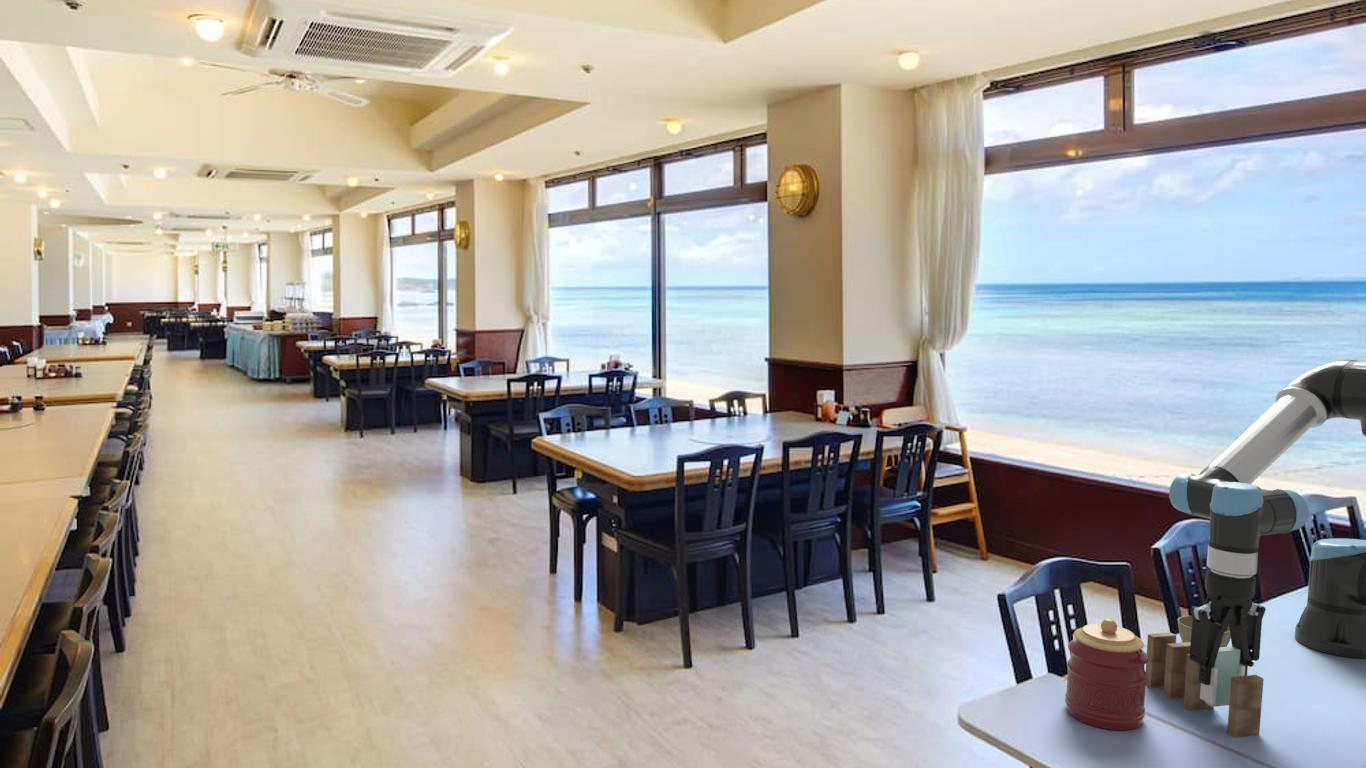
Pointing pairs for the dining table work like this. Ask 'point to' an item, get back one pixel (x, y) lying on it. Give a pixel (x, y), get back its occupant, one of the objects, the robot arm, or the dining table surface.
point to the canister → (1106, 677)
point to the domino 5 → (1245, 705)
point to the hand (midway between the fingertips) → (1221, 699)
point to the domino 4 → (1226, 673)
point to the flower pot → (1186, 631)
